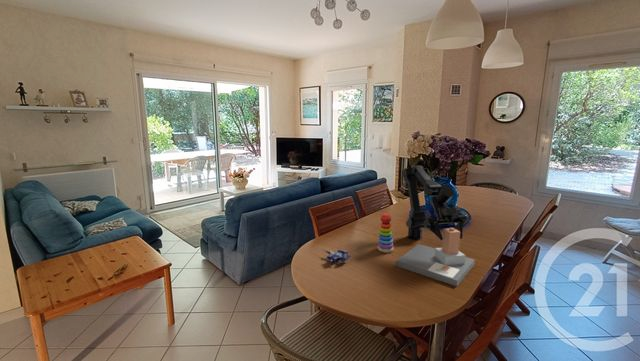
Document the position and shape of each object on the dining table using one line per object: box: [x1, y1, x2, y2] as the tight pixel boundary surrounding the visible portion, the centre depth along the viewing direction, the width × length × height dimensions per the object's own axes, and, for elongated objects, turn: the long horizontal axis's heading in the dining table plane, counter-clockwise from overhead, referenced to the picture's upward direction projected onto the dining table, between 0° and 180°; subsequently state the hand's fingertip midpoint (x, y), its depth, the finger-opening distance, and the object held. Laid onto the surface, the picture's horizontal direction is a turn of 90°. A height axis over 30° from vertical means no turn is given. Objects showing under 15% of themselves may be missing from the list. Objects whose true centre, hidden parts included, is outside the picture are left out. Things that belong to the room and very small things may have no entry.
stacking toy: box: [376, 213, 395, 254], centre depth 149 cm, size 8×8×19 cm
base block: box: [434, 247, 466, 265], centre depth 134 cm, size 9×9×4 cm
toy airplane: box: [322, 249, 351, 265], centre depth 140 cm, size 13×14×4 cm
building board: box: [395, 243, 476, 287], centre depth 134 cm, size 26×24×3 cm
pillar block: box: [441, 227, 461, 254], centre depth 132 cm, size 5×5×11 cm
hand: (451, 239), depth 132 cm, fingers open, 9 cm apart
